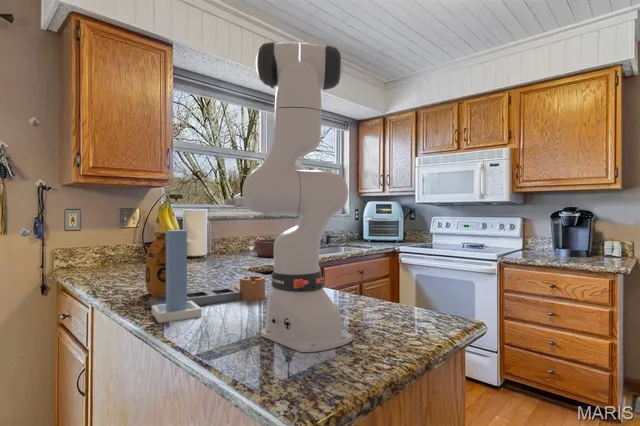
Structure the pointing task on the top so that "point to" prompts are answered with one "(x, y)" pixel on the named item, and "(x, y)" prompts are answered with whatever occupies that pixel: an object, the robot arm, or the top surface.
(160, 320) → the tray
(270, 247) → the wooden bowl
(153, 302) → the rail
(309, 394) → the top surface
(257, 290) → the bracket
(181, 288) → the blue-grey rectangular block
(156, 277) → the coffee package
